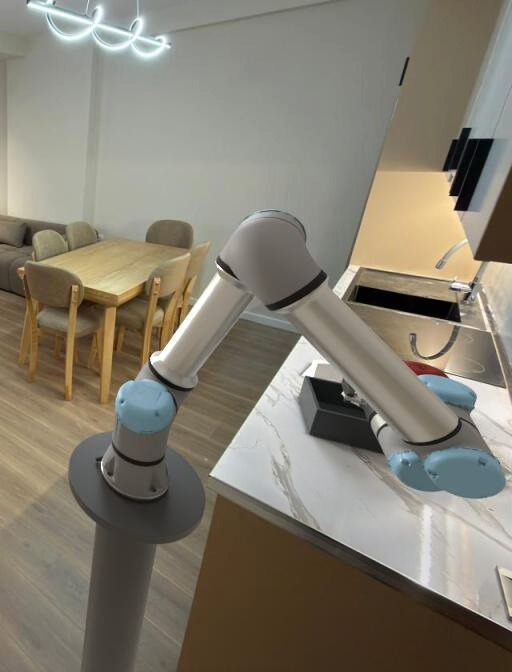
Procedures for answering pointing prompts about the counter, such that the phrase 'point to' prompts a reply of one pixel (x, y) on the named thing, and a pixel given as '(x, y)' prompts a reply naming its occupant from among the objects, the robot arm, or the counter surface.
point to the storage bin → (335, 414)
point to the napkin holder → (323, 371)
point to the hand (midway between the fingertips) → (362, 369)
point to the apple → (424, 369)
